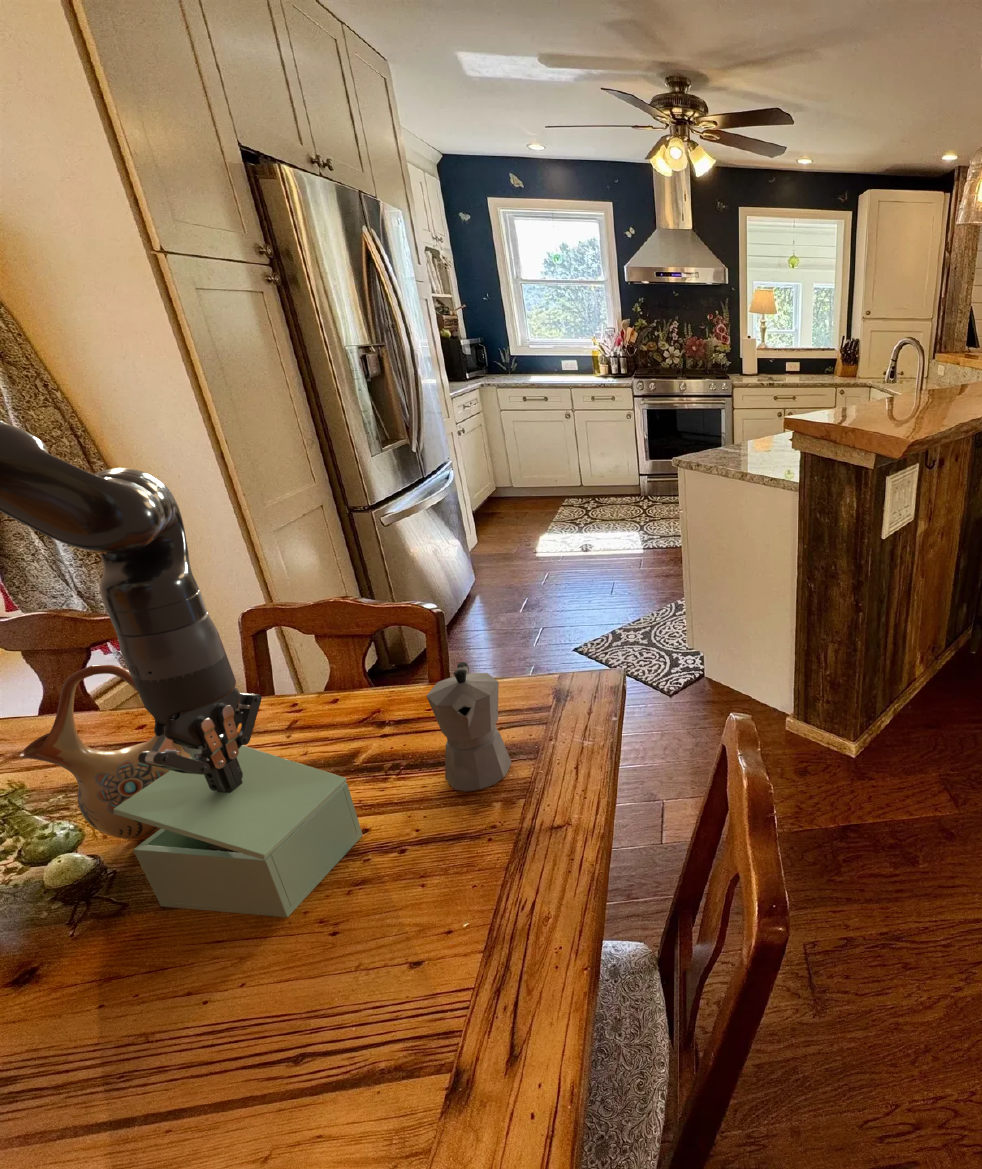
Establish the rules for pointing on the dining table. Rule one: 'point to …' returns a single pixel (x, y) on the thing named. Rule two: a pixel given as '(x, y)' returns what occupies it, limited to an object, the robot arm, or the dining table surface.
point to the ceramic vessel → (99, 764)
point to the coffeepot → (470, 729)
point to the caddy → (251, 865)
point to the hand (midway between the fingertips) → (229, 787)
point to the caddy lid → (236, 803)
